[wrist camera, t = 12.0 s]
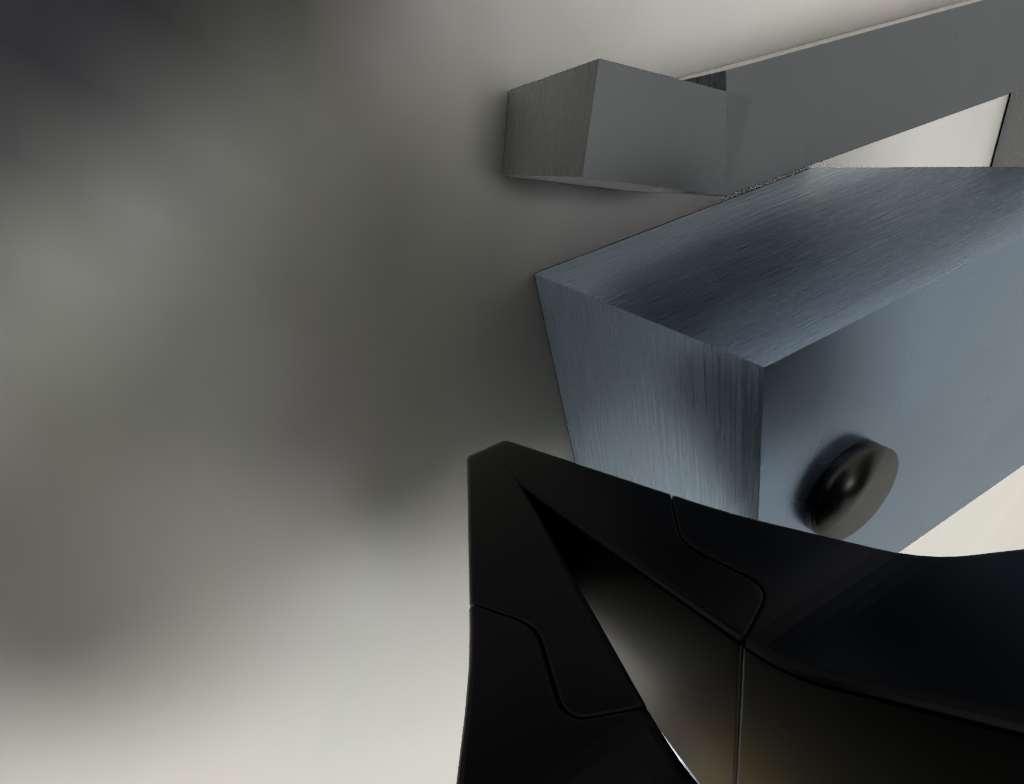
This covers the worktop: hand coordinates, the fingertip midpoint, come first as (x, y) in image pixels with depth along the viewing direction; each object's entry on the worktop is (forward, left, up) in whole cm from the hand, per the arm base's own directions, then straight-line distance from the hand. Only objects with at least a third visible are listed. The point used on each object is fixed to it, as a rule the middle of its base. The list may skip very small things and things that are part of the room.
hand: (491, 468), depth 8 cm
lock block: (0, +6, -1) cm, 6 cm away
